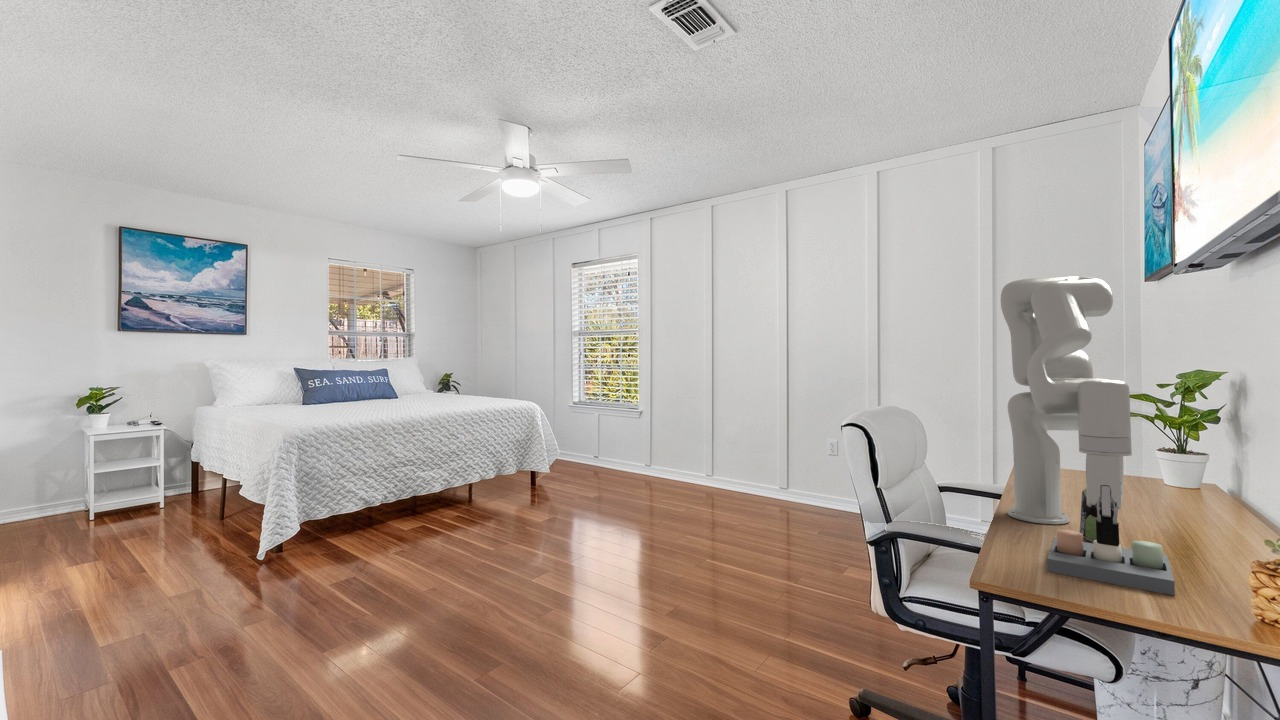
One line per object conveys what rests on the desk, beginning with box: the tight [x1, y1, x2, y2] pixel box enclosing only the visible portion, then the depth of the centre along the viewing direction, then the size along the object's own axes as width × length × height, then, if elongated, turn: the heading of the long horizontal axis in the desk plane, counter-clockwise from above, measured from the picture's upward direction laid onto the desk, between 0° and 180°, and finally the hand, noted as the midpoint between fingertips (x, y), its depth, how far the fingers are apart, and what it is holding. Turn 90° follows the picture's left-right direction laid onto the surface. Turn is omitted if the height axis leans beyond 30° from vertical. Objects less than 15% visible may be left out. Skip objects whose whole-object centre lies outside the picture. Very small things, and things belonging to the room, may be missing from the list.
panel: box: [1046, 537, 1176, 596], centre depth 102 cm, size 16×17×2 cm
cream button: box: [1092, 540, 1122, 563], centre depth 101 cm, size 4×4×4 cm
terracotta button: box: [1056, 529, 1084, 555], centre depth 105 cm, size 4×4×4 cm
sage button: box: [1131, 540, 1164, 569], centre depth 98 cm, size 4×4×4 cm
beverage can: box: [1079, 487, 1119, 543], centre depth 118 cm, size 6×7×12 cm
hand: (1107, 543), depth 101 cm, fingers closed
